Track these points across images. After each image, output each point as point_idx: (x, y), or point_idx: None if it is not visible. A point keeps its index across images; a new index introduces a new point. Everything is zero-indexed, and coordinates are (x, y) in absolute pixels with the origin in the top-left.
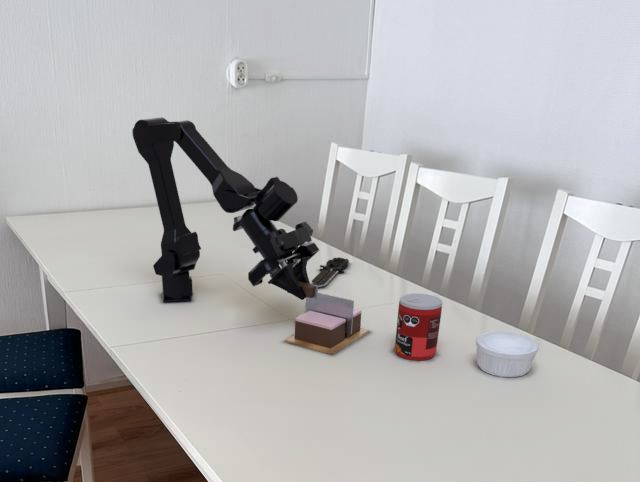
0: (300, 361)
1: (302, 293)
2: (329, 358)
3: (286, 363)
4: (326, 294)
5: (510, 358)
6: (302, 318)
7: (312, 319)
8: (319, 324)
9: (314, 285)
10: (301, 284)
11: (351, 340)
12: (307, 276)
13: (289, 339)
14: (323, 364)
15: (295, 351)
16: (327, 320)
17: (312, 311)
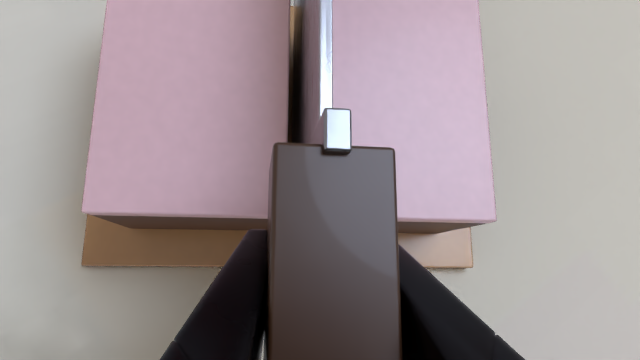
0: (577, 102)
1: (407, 253)
2: (483, 24)
3: (626, 136)
4: (327, 33)
5: None
6: (476, 177)
7: (449, 119)
8: (481, 53)
9: (339, 146)
10: (367, 317)
11: (290, 8)
12: (175, 358)
13: (458, 249)
14: (541, 19)
15: (516, 169)
16: (407, 39)
17: None
